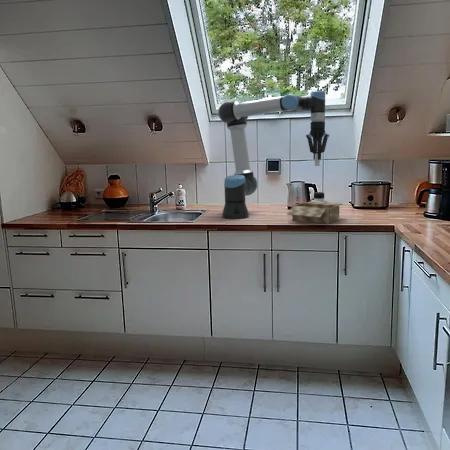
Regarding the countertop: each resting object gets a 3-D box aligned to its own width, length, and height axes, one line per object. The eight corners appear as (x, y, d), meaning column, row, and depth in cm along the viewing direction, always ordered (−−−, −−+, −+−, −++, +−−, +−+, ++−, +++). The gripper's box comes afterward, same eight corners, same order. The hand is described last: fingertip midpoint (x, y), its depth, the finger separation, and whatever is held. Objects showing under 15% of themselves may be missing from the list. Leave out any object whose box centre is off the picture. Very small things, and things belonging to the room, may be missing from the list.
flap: (293, 206, 239) (287, 214, 235) (293, 205, 238) (286, 213, 234) (325, 209, 227) (319, 217, 223) (325, 208, 227) (319, 217, 222)
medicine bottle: (327, 213, 261) (327, 192, 258) (316, 214, 258) (316, 193, 256) (321, 211, 267) (321, 191, 265) (310, 212, 265) (310, 192, 263)
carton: (291, 220, 242) (291, 205, 240) (308, 215, 256) (308, 201, 254) (329, 224, 228) (329, 208, 226) (345, 218, 242) (345, 203, 241)
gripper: (303, 121, 240) (303, 166, 244) (325, 120, 232) (324, 166, 236) (310, 121, 246) (309, 165, 250) (332, 120, 237) (331, 165, 242)
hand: (317, 165), depth 243 cm, fingers closed
